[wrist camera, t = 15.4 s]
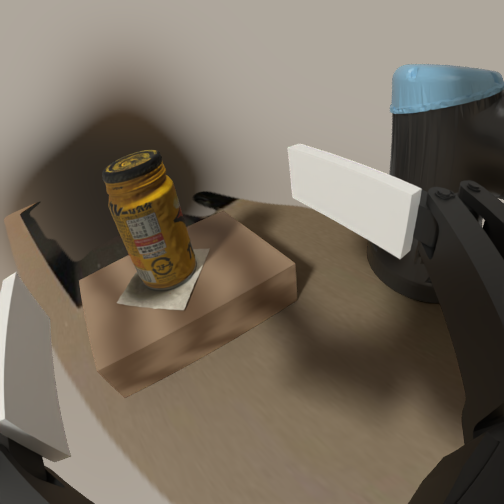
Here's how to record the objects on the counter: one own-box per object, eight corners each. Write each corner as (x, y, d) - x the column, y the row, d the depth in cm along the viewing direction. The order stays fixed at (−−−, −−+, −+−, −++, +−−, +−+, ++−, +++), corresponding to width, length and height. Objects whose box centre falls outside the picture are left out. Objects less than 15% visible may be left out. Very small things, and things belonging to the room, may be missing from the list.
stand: (230, 242, 40) (223, 210, 37) (297, 299, 30) (295, 263, 27) (97, 309, 33) (79, 280, 30) (124, 397, 23) (97, 371, 20)
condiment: (210, 250, 31) (181, 140, 23) (184, 311, 24) (133, 182, 17) (151, 251, 32) (115, 153, 25) (118, 305, 26) (61, 196, 18)
